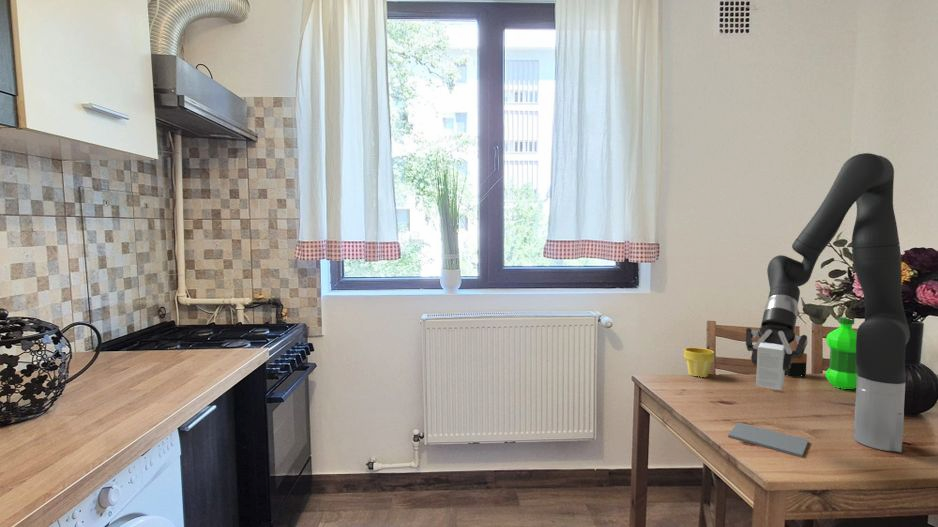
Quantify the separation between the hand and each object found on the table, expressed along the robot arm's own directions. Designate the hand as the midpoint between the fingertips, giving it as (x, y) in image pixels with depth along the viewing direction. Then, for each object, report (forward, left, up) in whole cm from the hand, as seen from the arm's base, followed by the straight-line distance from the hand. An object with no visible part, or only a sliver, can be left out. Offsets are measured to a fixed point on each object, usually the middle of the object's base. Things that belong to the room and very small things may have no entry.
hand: (769, 366), depth 116 cm
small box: (0, -2, -5) cm, 6 cm away
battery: (+4, -74, -20) cm, 76 cm away
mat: (0, -2, -20) cm, 20 cm away
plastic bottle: (-11, -69, -20) cm, 72 cm away
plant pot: (+31, -49, -20) cm, 61 cm away
